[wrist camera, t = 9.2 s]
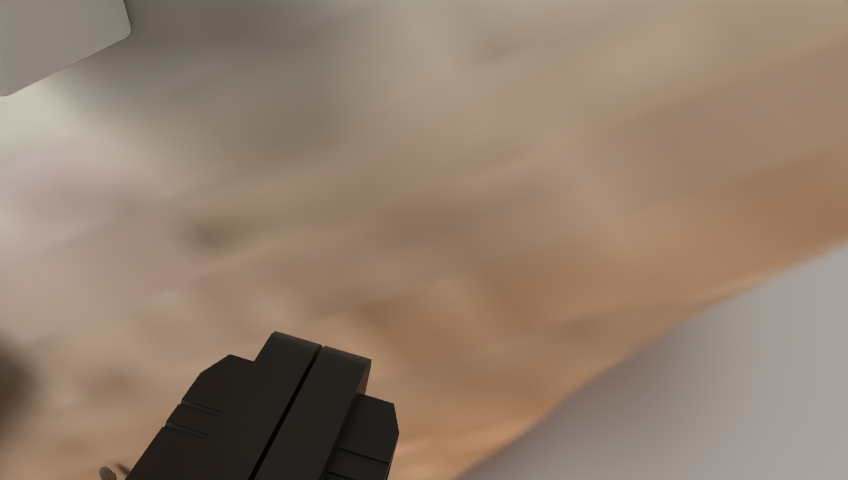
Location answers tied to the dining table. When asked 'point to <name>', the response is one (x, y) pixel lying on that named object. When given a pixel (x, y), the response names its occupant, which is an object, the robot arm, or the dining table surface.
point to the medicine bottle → (54, 36)
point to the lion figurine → (107, 474)
